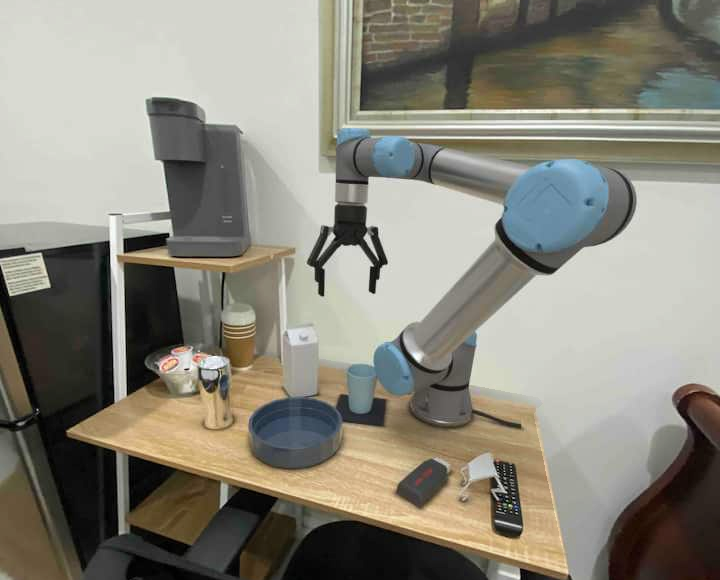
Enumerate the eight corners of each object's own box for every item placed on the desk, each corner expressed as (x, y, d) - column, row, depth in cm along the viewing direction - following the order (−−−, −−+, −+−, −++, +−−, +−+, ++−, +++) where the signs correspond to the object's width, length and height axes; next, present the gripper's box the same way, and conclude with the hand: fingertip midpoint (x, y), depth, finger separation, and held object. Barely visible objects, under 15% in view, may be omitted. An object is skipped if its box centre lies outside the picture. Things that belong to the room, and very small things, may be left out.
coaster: (385, 400, 102) (385, 399, 102) (382, 426, 91) (382, 424, 90) (340, 395, 103) (340, 394, 103) (331, 420, 92) (331, 418, 92)
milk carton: (283, 387, 105) (282, 321, 99) (307, 383, 109) (308, 318, 102) (291, 399, 100) (291, 330, 93) (317, 394, 103) (318, 326, 96)
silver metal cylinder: (203, 433, 85) (196, 370, 79) (202, 416, 91) (195, 357, 85) (236, 427, 87) (232, 366, 82) (233, 411, 93) (229, 354, 88)
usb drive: (396, 493, 71) (397, 481, 70) (431, 462, 79) (432, 451, 78) (420, 508, 68) (421, 496, 67) (454, 475, 76) (455, 463, 75)
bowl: (347, 420, 92) (348, 402, 90) (331, 476, 74) (332, 454, 72) (268, 411, 94) (267, 392, 92) (234, 463, 76) (232, 441, 74)
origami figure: (503, 515, 67) (508, 493, 65) (454, 500, 70) (458, 478, 68) (505, 472, 78) (510, 452, 76) (463, 461, 80) (466, 441, 79)
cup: (381, 413, 95) (384, 374, 91) (352, 419, 92) (354, 379, 88) (367, 398, 101) (370, 361, 98) (340, 403, 98) (341, 366, 95)
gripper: (391, 205, 98) (385, 288, 105) (293, 201, 88) (294, 292, 96) (406, 207, 91) (398, 295, 99) (302, 203, 82) (302, 300, 89)
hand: (347, 293), depth 97 cm, fingers open, 13 cm apart
